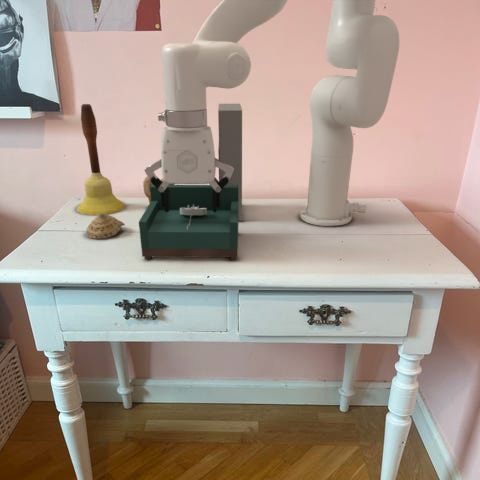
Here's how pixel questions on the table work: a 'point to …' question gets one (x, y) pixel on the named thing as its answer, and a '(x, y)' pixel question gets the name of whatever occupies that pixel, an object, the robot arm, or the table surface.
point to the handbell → (96, 173)
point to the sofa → (191, 224)
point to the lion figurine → (148, 187)
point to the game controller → (193, 211)
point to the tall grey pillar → (231, 144)
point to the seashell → (103, 227)
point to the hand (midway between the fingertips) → (191, 210)
